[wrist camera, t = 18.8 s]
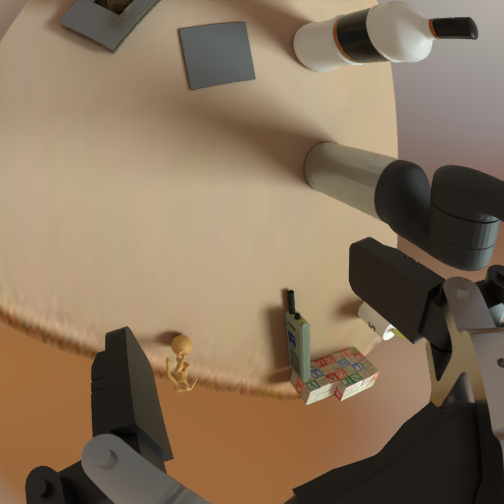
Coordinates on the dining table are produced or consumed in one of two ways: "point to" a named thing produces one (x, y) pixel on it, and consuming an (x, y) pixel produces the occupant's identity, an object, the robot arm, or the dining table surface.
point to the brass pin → (117, 5)
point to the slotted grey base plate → (105, 21)
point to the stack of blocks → (336, 376)
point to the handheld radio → (298, 340)
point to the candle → (377, 322)
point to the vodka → (376, 36)
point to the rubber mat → (217, 54)
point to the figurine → (180, 363)
